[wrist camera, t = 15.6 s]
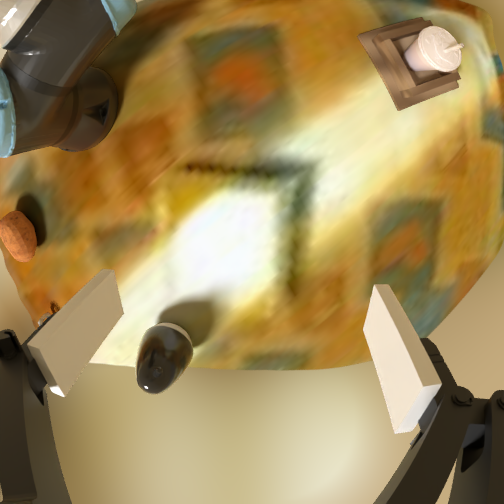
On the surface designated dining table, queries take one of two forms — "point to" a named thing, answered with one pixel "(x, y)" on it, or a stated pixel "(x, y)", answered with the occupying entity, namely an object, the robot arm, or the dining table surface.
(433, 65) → the smoothie
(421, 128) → the dining table surface
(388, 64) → the box
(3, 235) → the potato
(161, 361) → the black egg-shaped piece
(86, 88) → the robot arm
